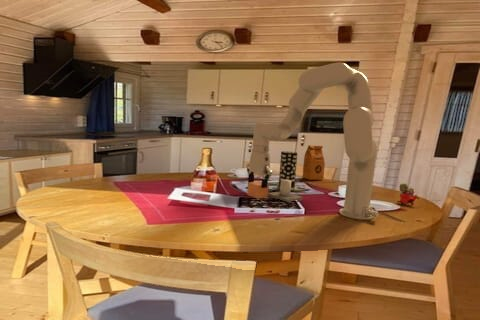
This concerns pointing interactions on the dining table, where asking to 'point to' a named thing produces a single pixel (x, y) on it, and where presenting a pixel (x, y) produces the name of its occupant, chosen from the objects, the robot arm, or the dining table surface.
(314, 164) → the coffee package
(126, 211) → the dining table surface
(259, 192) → the orange cube
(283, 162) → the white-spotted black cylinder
